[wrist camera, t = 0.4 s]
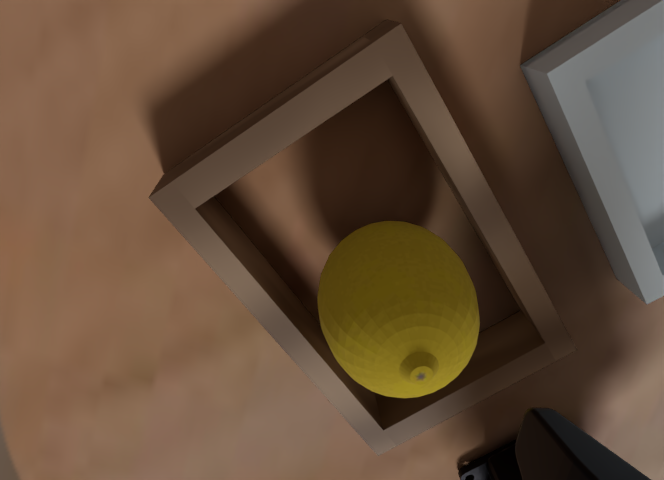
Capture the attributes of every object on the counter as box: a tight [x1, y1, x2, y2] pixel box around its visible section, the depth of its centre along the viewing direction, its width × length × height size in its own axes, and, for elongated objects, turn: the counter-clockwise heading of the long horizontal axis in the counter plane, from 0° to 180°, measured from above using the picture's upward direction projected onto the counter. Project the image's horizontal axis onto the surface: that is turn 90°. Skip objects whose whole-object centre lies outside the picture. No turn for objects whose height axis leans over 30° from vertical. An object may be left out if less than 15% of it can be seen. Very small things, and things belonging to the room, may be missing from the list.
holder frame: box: [149, 20, 577, 456], centre depth 21 cm, size 15×10×2 cm, turn 33°
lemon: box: [317, 221, 480, 398], centre depth 19 cm, size 6×6×8 cm
